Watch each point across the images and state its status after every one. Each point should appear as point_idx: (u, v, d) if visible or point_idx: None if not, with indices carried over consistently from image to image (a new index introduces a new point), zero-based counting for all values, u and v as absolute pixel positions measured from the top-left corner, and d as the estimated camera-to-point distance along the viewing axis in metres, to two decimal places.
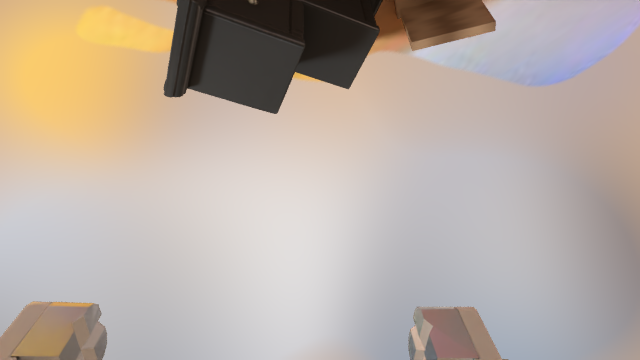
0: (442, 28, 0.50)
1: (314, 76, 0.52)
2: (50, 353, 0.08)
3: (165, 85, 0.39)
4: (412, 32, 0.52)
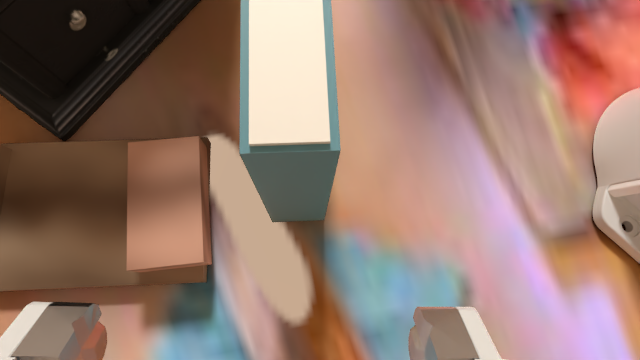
0: None
1: None
2: (49, 353, 0.08)
3: None
4: None
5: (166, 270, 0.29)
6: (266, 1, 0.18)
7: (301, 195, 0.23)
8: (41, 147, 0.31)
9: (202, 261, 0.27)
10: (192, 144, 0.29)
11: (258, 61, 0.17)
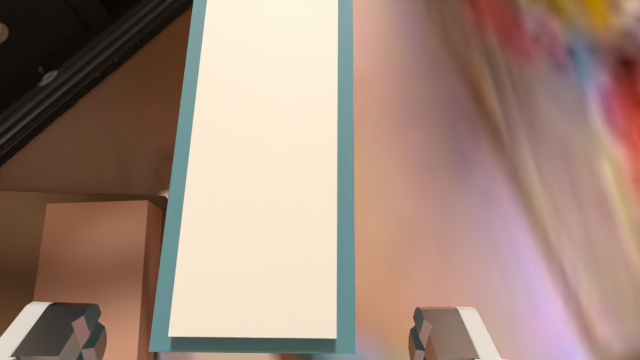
0: None
1: None
2: (50, 353, 0.08)
3: None
4: None
5: None
6: (235, 39, 0.10)
7: None
8: None
9: None
10: (137, 212, 0.21)
11: (207, 156, 0.09)
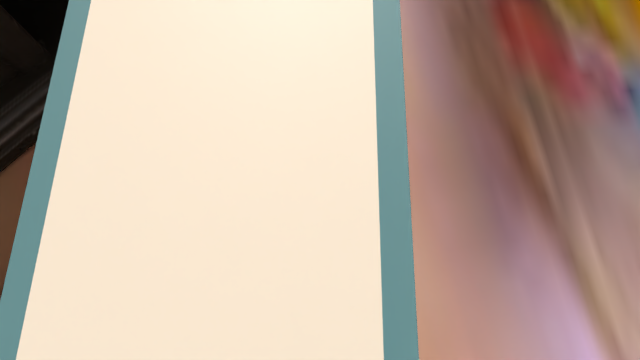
0: None
1: None
2: None
3: None
4: None
5: None
6: (119, 273, 0.04)
7: None
8: None
9: None
10: None
11: None
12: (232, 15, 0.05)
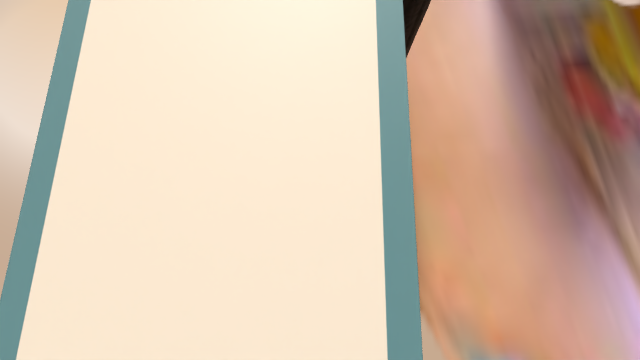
0: None
1: None
2: None
3: None
4: None
5: None
6: (120, 272, 0.04)
7: None
8: None
9: None
10: None
11: None
12: (234, 12, 0.05)
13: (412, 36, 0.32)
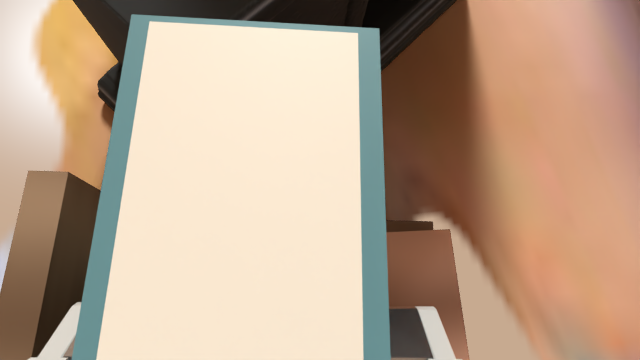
0: (67, 307, 0.13)
1: None
2: None
3: None
4: (97, 205, 0.15)
5: None
6: (170, 280, 0.05)
7: None
8: None
9: None
10: (442, 242, 0.20)
11: None
12: (250, 80, 0.06)
13: None
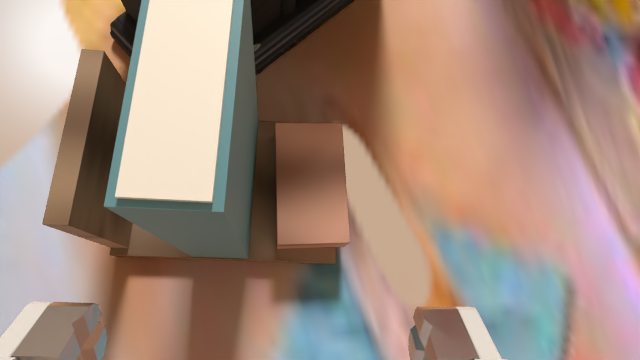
0: (100, 127, 0.23)
1: None
2: (50, 353, 0.08)
3: None
4: (116, 80, 0.25)
5: (301, 249, 0.30)
6: (164, 32, 0.16)
7: (207, 240, 0.21)
8: None
9: (348, 241, 0.28)
10: (336, 130, 0.30)
11: (143, 100, 0.15)
12: None
13: None
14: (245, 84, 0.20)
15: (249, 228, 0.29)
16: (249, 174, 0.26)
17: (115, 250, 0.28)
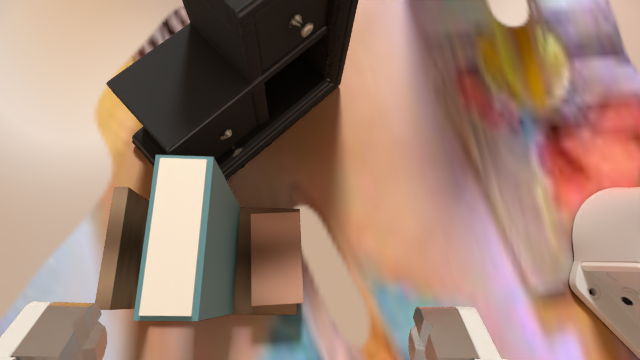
0: (127, 237, 0.35)
1: (152, 52, 0.37)
2: (49, 353, 0.08)
3: None
4: (137, 199, 0.37)
5: (271, 305, 0.41)
6: (164, 211, 0.27)
7: None
8: None
9: (302, 302, 0.39)
10: (295, 218, 0.42)
11: (152, 256, 0.26)
12: (181, 171, 0.28)
13: (342, 59, 0.44)
14: (217, 221, 0.31)
15: (232, 292, 0.40)
16: (228, 260, 0.37)
17: None
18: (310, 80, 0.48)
